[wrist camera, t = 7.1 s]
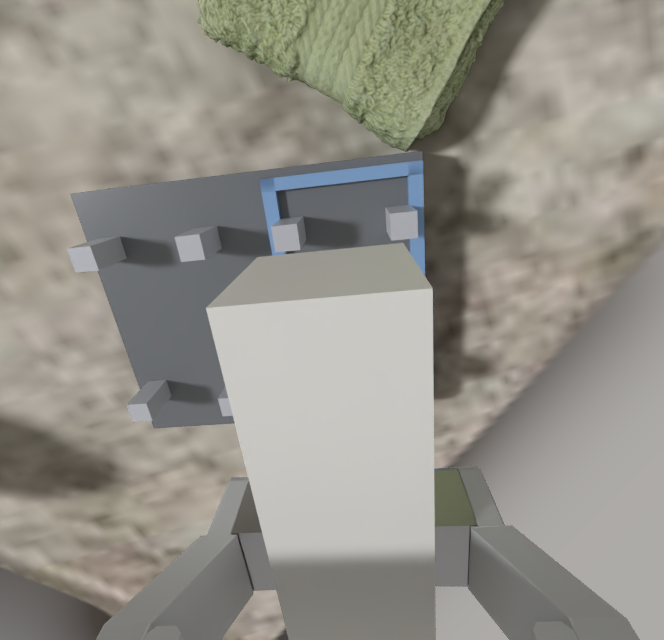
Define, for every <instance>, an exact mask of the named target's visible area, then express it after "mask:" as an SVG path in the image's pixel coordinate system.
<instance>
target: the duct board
mask: <svg viewBox="0 0 664 640" xmlns="http://www.w3.org/2000/svg"><path fill="white" fill-rule="evenodd" d="M70 195H71V198H72V201H73V203H74V206H75V209H76V212H77V214H78V217H79V220H80V223H81V226H82V228H83V231H84V234H85V237H86V240H87V242H86V243H83V244H80V245H77V246H73V247H70V248H67V251H68V253H69V256H70V259H71V261H72V264H73V267H74V269H75V272H76V273H78V272H88V271H98V273H99V276H100V279H101V281H102V284H103V287H104V290H105V293H106V295H107V298H108V301H109V304H110V307H111V309H112V312H113V315H114V318H115V321H116V323H117V326H118V329H119V332H120V334H121V337H122V340H123V343H124V346H125V348H126V351H127V354H128V357H129V360H130V362H131V365H132V368H133V371H134V374H135V376H136V379H137V382H138V385H139V388H140V391H139V392H138V393H137V394H136V395H135V396H134V397H133V398H132V399H131V400H130V402H129V403H128V404H127V408H128V411H129V413H130V416H131V419H132V421H133V422H143V421H152V424H153V427H154V428H166V427H182V426H199V425H215V424H231V423H235V422H234V418H233V414H232V411H231V407H230V403H229V399H228V395H227V391H226V387H225V383H224V379H223V375H222V371H221V367H220V363H219V359H218V355H217V351H216V347H215V343H214V339H213V335H212V331H211V327H210V323H209V319H208V315H207V311H206V307H207V306H208V305H209V304H210V303H211V302H212V301H213V300H215V299H216V298H217V297H218V296H219V295H220V294H221V293H222V292H223V291H224V290H225V289H226V288H227V287H228V286H229V285H230V284H231V283H232V282H233V281H234V280H235V279H236V278H237V277H238V276H239V275H240V274H241V273H242V272H243V271H244V270H245V269H246V268H247V267H248V266H249V265H250V264H251V263H252V262H253V261H254V260H255V259H256V258H257V257H263V256H273V255H284V254H294V253H304V252H314V251H324V250H335V249H345V248H355V247H365V246H375V245H386V244H396V243H404V245H405V246H406V248H407V249H408V251H409V252H410V254H411V256H412V257H413V259H414V260H415V262H416V263H417V265H418V266H419V268H420V269H421V271H422V273H423V274H424V276H425V238H424V181H423V151H419V152H410V153H402V154H394V155H386V156H377V157H369V158H361V159H353V160H344V161H336V162H328V163H319V164H311V165H303V166H295V167H286V168H278V169H270V170H262V171H253V172H245V173H237V174H229V175H220V176H212V177H204V178H196V179H187V180H179V181H171V182H163V183H154V184H146V185H138V186H130V187H121V188H113V189H105V190H96V191H88V192H80V193H72V194H70Z"/></svg>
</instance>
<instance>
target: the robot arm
mask: <svg viewBox="0 0 664 640" xmlns="http://www.w3.org/2000/svg"><path fill="white" fill-rule="evenodd" d="M434 505H435V586H467V587H468V589H469V590H470V591H471V593H472V594H473V595H474V596H475V598H476V599H477V600H478V601H479V603H480V604H481V605H482V606H483V608H484V609H485V610H486V611H487V612H488V614H489V615H490V616H491V617H492V619H493V620H494V621H495V623H496V624H497V625H498V626H499V627H500V629H501V630H502V631H503V632H504V634H505V635H506V636H507V637H508V639H509V640H640V639H639V638H638V636H637V634H636V633H635V631H634V630H633V628H632V626H631V625H630V623H629V621H628V620H627V619H626V618H625V617H624V616H623V615H622V614H620V613H619V612H618V611H617V610H615V609H614V608H613V607H612V606H610V605H609V604H608V603H607V602H606V601H604V600H603V599H602V598H601V597H599V596H598V595H597V594H596V593H595V592H593V591H592V590H591V589H590V588H588V587H587V586H586V585H585V584H583V583H582V582H581V581H580V580H578V579H577V578H576V577H575V576H573V575H572V574H571V573H570V572H568V571H567V570H566V569H565V568H564V567H562V566H561V565H560V564H559V563H558V562H556V561H555V560H554V559H553V558H551V557H550V556H549V555H548V554H546V553H545V552H544V551H543V550H541V549H540V548H539V547H538V546H537V545H535V544H534V543H533V542H531V541H530V540H529V539H528V538H527V537H525V536H524V535H523V534H522V533H520V532H519V531H518V530H517V529H515V528H514V527H513V526H505V525H504V522H503V520H502V518H501V515H500V513H499V511H498V508H497V506H496V504H495V501H494V499H493V497H492V494H491V492H490V490H489V487H488V485H487V483H486V480H485V478H484V476H483V473H482V471H481V469H480V468H479V467H478V466H472V467H457V468H438V469H434ZM259 590H276V586H275V582H274V578H273V574H272V570H271V566H270V562H269V558H268V554H267V550H266V546H265V542H264V538H263V534H262V530H261V526H260V522H259V518H258V514H257V510H256V506H255V502H254V498H253V494H252V490H251V486H250V482H249V478H248V477H232V478H231V480H230V481H229V482H228V484H227V486H226V489H225V491H224V494H223V496H222V499H221V501H220V504H219V506H218V509H217V511H216V514H215V517H214V519H213V522H212V524H211V527H210V529H209V532H208V534H207V536H200V537H199V538H198V539H197V540H196V541H195V542H194V543H193V544H192V545H190V546H189V547H188V548H187V549H186V550H185V551H184V552H183V553H182V554H181V555H179V556H178V557H177V558H176V559H175V560H174V561H173V562H172V563H171V564H170V565H169V566H167V567H166V568H165V569H164V570H163V571H162V572H161V573H160V574H159V575H158V576H157V577H155V578H154V579H153V580H152V581H151V582H150V583H149V584H148V585H147V586H146V587H144V588H143V589H142V590H141V591H140V592H139V593H138V594H137V595H136V596H135V597H134V598H132V599H131V600H130V601H129V602H128V603H127V604H126V605H125V606H124V607H123V608H122V609H120V610H119V611H118V612H117V613H116V614H115V615H114V616H113V617H112V618H111V619H110V620H108V621H107V622H106V623H105V624H104V626H103V628H102V630H101V631H100V633H99V635H98V637H97V639H96V640H221V639H222V637H223V636H224V634H225V633H226V632H227V630H228V629H229V627H230V626H231V624H232V623H233V622H234V620H235V619H236V617H237V616H238V615H239V613H240V612H241V610H242V609H243V608H244V606H245V605H246V603H247V602H248V600H249V599H250V598H251V596H252V595H253V591H259Z"/></svg>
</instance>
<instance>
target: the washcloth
mask: <svg viewBox="0 0 664 640" xmlns="http://www.w3.org/2000/svg"><path fill="white" fill-rule="evenodd" d="M197 4H198V8H199V11H200V18H199V21H197V22H198V23H200V24H201V26H202V29H203V31H204V34H205V35H207V36H209V37H210V38H211V39H214V41H215V42H216V43H217V41H218V40H220V42H221V44H222V45H224V46H226V47H229V46H231V47H232V48H233V49H235V50H236V51H237V52H243V53H244V54H245V56H246V57H247V58H249V59H250V60H253V59H255V61H256V62H258V63H260V64H262V63H264V64H265V65H267V66H270V67H271V69H272V70H273V71H274V72H275V73H276V74H277V75H278V76H279V77H286V78H287V82H290V81H292V80H301V81H303V82H305V83H306V84H308V85H309V86H310V87H312V88H314V89H317V90H318V91H319V92H321V93H323V94H324V95H326V96H329V97H331V98H332V99H334V100H336V101H337V102H339V103H341V105H342V108H343V109H344V110H345V112H347V113H348V114H350V116H351V117H353V118H354V119H356V120H357V121H358V122H359V123H360V124H361V123H363V122H364V125H365V127H366V128H367V129H368V130H369V131H372V132H374V133H375V135H376V136H377V137H378V138H380V140H381V141H383V142H385V143H386V144H389V145H390V146H391V147H394V148H398V149H401V150H403V151H405V152H406V151H408V150H409V148H410V147H411V145H412V144H413V142H414V140H417V139H422V138H424V136H425V135H429V134H431V133H432V132H433V131H436V130H438V129H439V128H440V127H441V125H442V123H443V122H444V118H445V115H446V111H447V110H448V109H449V105H450V104H451V103H452V102H453V100H454V98H456V97H458V96H459V88H461V87H462V84H463V82H464V81H465V79H466V76H467V75H469V70H470V67H471V64H472V63H473V62H475V61H476V52H477V49H478V48H479V46H482V40H483V39H484V34H485V33H486V32H487V30H488V27H489V25H491V23H492V21H493V20H494V16H495V15H496V14H497V13H498V12H499V10H500V9H501V8H502V7H503V6H504V1H503V0H198V3H197Z"/></svg>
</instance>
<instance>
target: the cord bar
mask: <svg viewBox="0 0 664 640" xmlns="http://www.w3.org/2000/svg"><path fill="white" fill-rule="evenodd" d="M206 311H207V315H208V319H209V323H210V327H211V331H212V335H213V339H214V343H215V347H216V351H217V355H218V359H219V363H220V367H221V371H222V375H223V379H224V383H225V387H226V391H227V395H228V399H229V403H230V407H231V411H232V414H233V418H234V422H235V426H236V430H237V434H238V438H239V442H240V446H241V450H242V454H243V458H244V462H245V466H246V470H247V474H248V478H249V482H250V486H251V490H252V494H253V498H254V502H255V506H256V510H257V514H258V518H259V522H260V526H261V530H262V534H263V538H264V542H265V546H266V550H267V554H268V558H269V562H270V566H271V570H272V574H273V578H274V582H275V586H276V590H277V594H278V598H279V602H280V606H281V610H282V614H283V618H284V622H285V626H286V630H287V634H288V638H289V640H435V638H436V636H435V635H436V634H435V633H436V628H435V505H434V382H433V288H432V286H431V285H430V283H429V282H428V280H427V279H426V277H425V276H424V274H423V273H422V271H421V269H420V268H419V266H418V265H417V263H416V262H415V260H414V259H413V257H412V256H411V254H410V252H409V251H408V249H407V248H406V246H405V245H404V243H396V244H386V245H375V246H365V247H355V248H345V249H335V250H324V251H314V252H304V253H294V254H284V255H273V256H263V257H257V258H256V259H255V260H254V261H253V262H252V263H251V264H250V265H249V266H248V267H247V268H246V269H245V270H244V271H243V272H242V273H241V274H240V275H239V276H238V277H237V278H236V279H235V280H234V281H233V282H232V283H231V284H230V285H229V286H228V287H227V288H226V289H225V290H224V291H223V292H222V293H221V294H220V295H219V296H218V297H217V298H216V299H215V300H213V301H212V302H211V303H210V304H209V305H208V306H207V307H206Z"/></svg>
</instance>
